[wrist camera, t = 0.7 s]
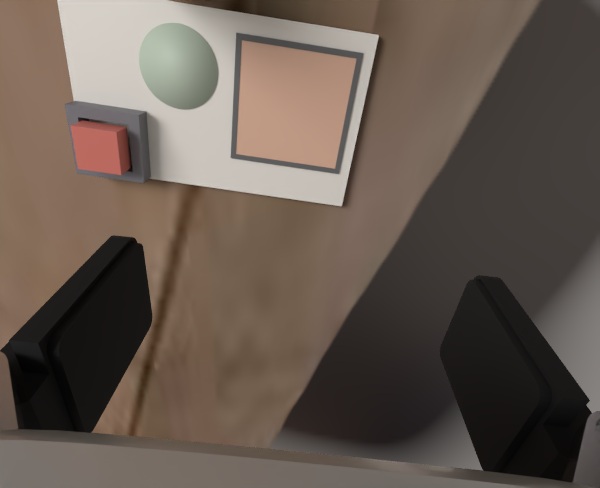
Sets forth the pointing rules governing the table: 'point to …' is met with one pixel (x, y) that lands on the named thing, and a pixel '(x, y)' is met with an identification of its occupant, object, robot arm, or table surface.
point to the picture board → (220, 94)
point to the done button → (101, 147)
